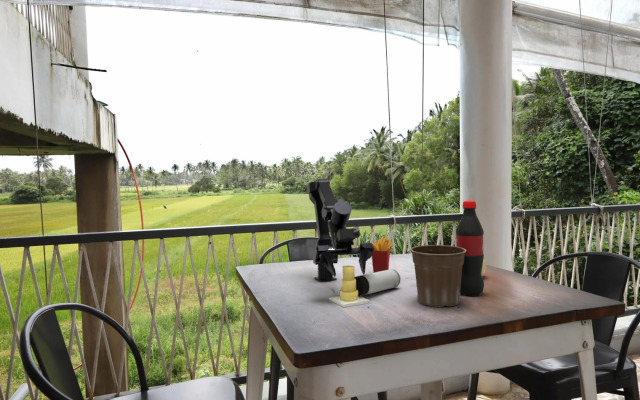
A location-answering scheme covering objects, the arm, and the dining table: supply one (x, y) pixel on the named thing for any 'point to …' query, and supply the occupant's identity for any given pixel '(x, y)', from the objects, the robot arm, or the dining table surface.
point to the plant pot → (438, 274)
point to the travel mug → (377, 281)
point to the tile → (349, 303)
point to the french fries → (381, 255)
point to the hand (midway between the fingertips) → (349, 274)
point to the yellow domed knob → (348, 285)
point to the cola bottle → (471, 250)
